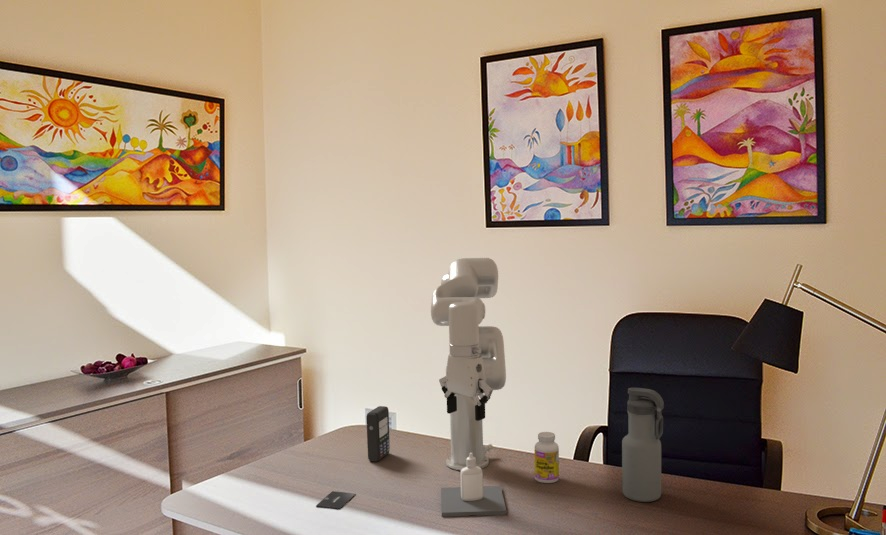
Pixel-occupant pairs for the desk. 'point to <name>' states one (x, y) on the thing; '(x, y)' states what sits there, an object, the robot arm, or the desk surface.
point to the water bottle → (642, 446)
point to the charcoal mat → (472, 502)
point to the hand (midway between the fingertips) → (465, 415)
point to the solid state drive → (335, 500)
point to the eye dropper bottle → (471, 480)
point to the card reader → (378, 433)
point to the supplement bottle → (546, 458)
